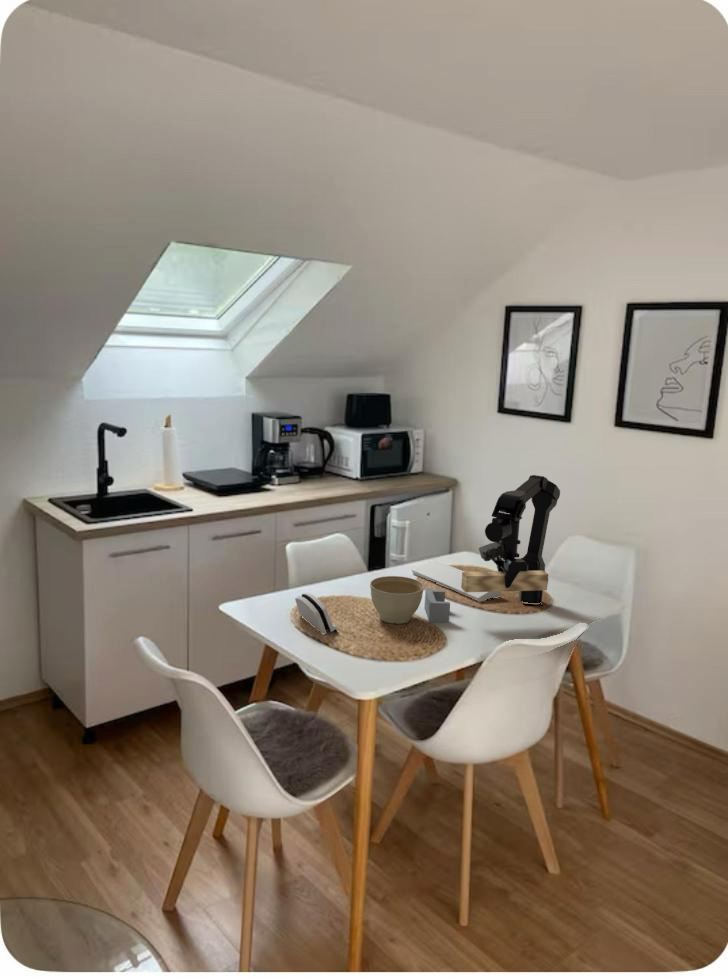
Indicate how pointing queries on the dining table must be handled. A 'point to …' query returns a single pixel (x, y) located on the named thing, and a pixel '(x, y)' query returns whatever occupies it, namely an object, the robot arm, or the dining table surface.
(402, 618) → the planter bowl
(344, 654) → the dining table surface
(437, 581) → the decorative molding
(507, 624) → the dining table surface
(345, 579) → the dining table surface
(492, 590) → the oak slat
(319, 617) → the grey black arched block
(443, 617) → the end cap
